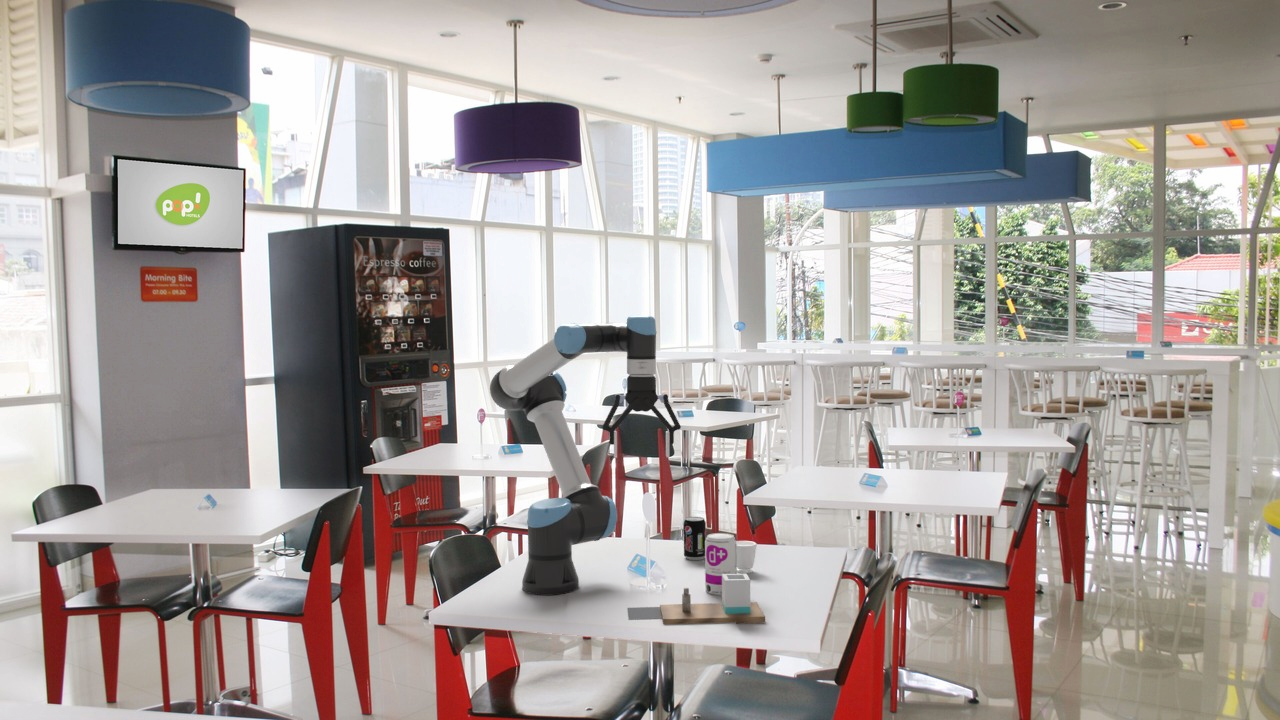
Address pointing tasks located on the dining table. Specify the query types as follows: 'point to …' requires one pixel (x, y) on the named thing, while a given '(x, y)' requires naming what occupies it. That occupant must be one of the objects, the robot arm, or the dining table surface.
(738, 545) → the cup
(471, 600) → the dining table surface
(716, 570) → the supplement can
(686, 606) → the pinboard
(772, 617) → the dining table surface
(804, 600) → the dining table surface
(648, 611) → the mat
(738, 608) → the sleeve
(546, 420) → the robot arm
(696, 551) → the beverage can
